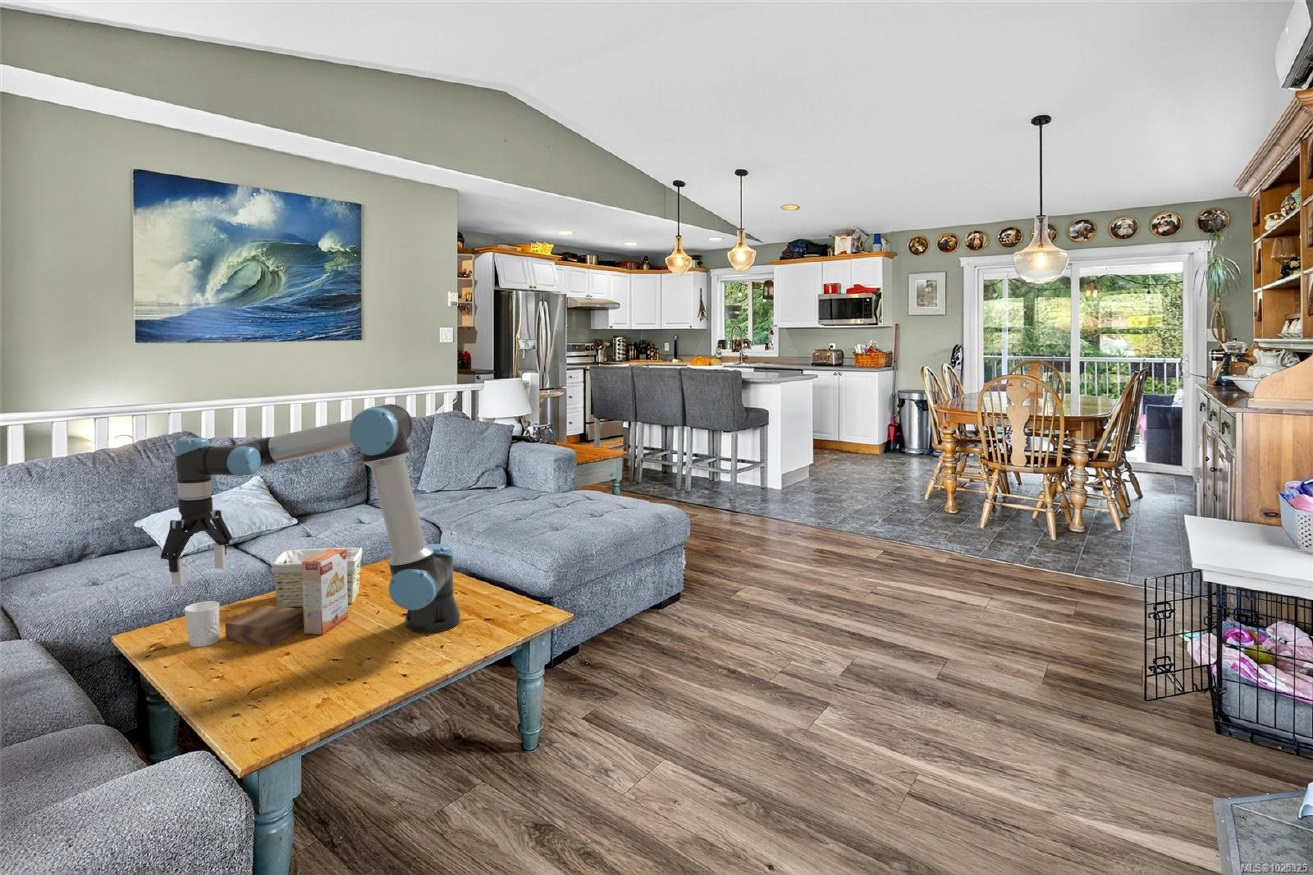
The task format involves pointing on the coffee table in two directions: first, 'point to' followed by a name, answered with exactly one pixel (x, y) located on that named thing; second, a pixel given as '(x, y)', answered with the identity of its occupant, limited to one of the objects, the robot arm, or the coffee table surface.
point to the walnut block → (265, 625)
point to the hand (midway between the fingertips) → (199, 575)
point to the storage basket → (290, 575)
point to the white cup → (202, 623)
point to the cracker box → (324, 590)
